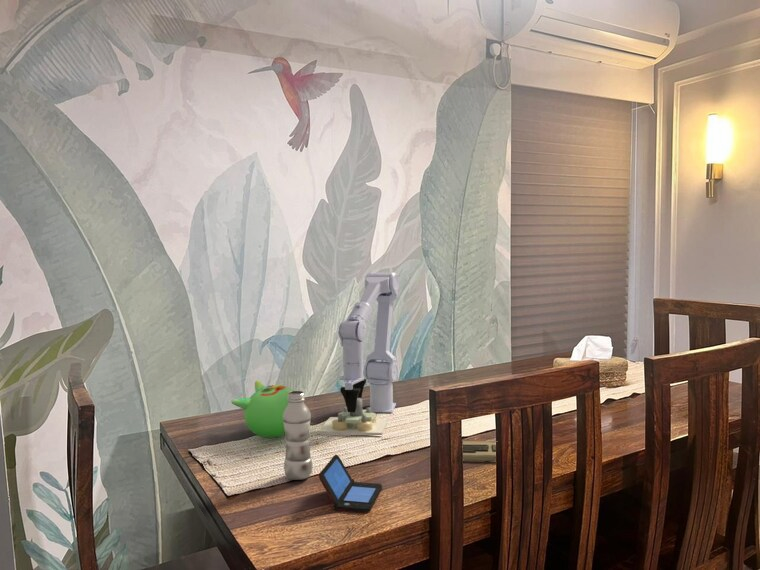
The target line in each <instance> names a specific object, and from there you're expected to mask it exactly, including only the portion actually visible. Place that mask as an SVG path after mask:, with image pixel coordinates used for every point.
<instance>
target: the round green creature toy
mask: <svg viewBox="0 0 760 570" xmlns="http://www.w3.org/2000/svg"><path fill="white" fill-rule="evenodd" d="M254 390H255V391H254V393H253V394H252V395H251V396H250V397H242V398H235V399H232V400H231V404H232V405H234V406H236V407H238V408H241V409H243V410H244V412H243V416H244V421H245V424H246V426H247V427H248V429H249V430H250V431H251V432H252V433H253V434H255V435H256V436H259V437H262V438H267V439H272V438H273V439H274V438H278V437H282V436H285V428H284V423H283V413H284V411H285V409H286V407H287V406H288V404H289V402H288V392H291V391H295V390H294V389H292V388H290V387H288V386H284V385H283V384H277V385H268V386H265V385H264V384H263V383H262V382H261V381H259V380H255V382H254Z"/></svg>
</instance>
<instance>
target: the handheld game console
mask: <svg viewBox="0 0 760 570" xmlns="http://www.w3.org/2000/svg"><path fill="white" fill-rule="evenodd" d="M345 466H346V465H344V463H343V461H342V460H341V458H340V456H339V455H338V454H334V456H332V458H331V459H330V460H329V461H328V463H327V464H326V465H325V466H324V468H323V469H322V470H321V471H319V474H318V478H319V479H318V480H319V481H320V482H321V484H322V486H323V488H324V490H325V491H326V492H327V494H328V496H329V499H330V500H331V501H332V502H333V504H334V505H333V509H334V511H340V512H351V513H361V514H362V513H363V514H366V513H369V512H371V511H372V510H373V509H372V508H373V506H374V504H375V503H376V501H377V499H378V497H379V495H380V494H381V492H382V490H383V485H382V484H381V483H372V482H361V481H360V482H359V481H358V482H357V481H355V479H354V478H352V476H351V475H350V473H349V471H348V470H347V467H345Z"/></svg>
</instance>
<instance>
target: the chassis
mask: <svg viewBox="0 0 760 570" xmlns="http://www.w3.org/2000/svg"><path fill="white" fill-rule="evenodd" d="M365 410H366V413H373V412H370V406H369V407H368V406H367V407H366V409H365ZM342 412H348V411H347V407H346V406H343V407H342ZM340 413H341V412H338V414H337V416H330V417H329V418H328V419H327V420H326V421H325V423H324V424H323V426H322V427H321V428H320V429H319V431H318V435H320V436H321V435H324V436H325V435H326V436H351V435H382V434H383V435H384V433H385V431H386V429H387V427H388V424H389V422H388V421H390V420H389V417H388V418H385V417H384V418H382V417H379V418H378V417H377V413H375V417H374V418H373V420H372V421H366V415H365V414H363V415H362V420H361V422H360V423H359V424H356V423H345V420H343V419H342V414H340ZM387 423H388V424H387ZM385 428H386V429H385ZM384 430H385V431H384ZM383 432H384V433H383ZM336 434H337V435H336ZM383 435H382V436H383Z"/></svg>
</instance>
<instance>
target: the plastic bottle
mask: <svg viewBox="0 0 760 570" xmlns="http://www.w3.org/2000/svg"><path fill="white" fill-rule="evenodd" d="M304 393H305V391H303V390H294V391H291V392H288V402H289V404H288V406H287V407H286V409H285V411H284V413H283V423H284V428H285V435H284V436H285V455H284V456H285V459H284V463H283V471H284V474H285V476H286V478H288V479H289V480H293V481H300V480H301V481H302V480H305V479H308V478H309V477H310V476H311V474H312V472H313V466H314V465H313V461H312V457H311V448H310V429H311V428H310V427H311V421H312V420H311V419H312V414H311V410H310V409H309V407H308V406H307V405H306V403H305V394H304Z"/></svg>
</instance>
